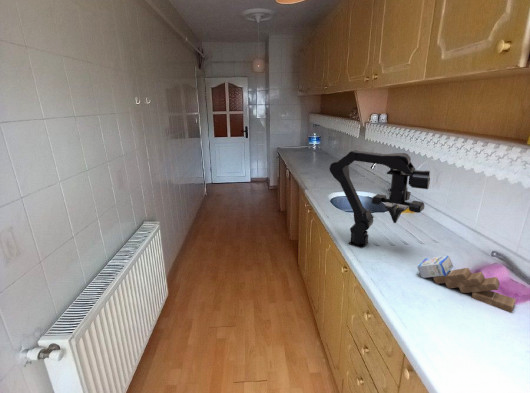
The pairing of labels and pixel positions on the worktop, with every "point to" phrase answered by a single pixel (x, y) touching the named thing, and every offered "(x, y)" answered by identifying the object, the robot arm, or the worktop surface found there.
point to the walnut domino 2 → (468, 281)
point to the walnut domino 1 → (453, 276)
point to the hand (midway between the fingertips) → (395, 222)
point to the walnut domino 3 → (482, 286)
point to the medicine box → (435, 266)
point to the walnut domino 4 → (495, 300)
